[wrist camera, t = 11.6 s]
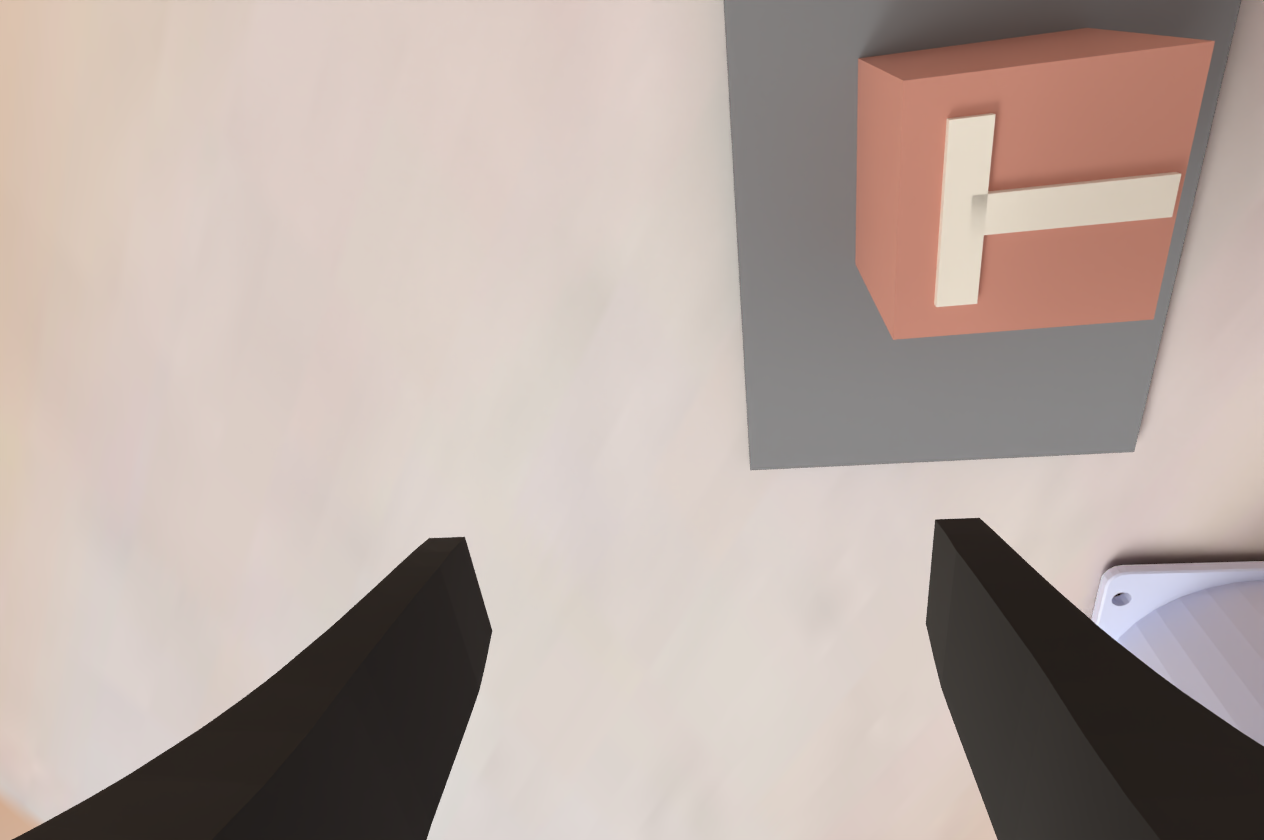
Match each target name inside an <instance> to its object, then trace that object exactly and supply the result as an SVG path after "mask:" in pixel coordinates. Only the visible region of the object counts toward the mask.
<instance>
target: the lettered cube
mask: <svg viewBox="0 0 1264 840" xmlns="http://www.w3.org/2000/svg"><path fill="white" fill-rule="evenodd" d="M1214 43H1215V41H1211V40H1201V39H1191V38H1182V37H1172V36H1162V35H1153V34H1143V33H1133V32H1124V31H1114V30H1104V29H1095V28H1082V29H1075V30H1067V31H1060V32H1052V33H1045V34H1038V35H1030V36H1023V37H1015V38H1008V39H1000V40H993V41H985V42H978V43H970V44H963V45H955V46H948V47H940V48H933V49H925V50H918V51H910V52H903V53H895V54H888V55H880V56H873V57H865V58H858V108H857V182H856V256H855V264H856V266H857V268H858V270H859V272H860V274H861V276H862V279H863V281H864V283H865V285H866V287H867V289H868V291H869V293H870V295H871V297H872V299H873V301H874V303H875V305H876V307H877V309H878V311H879V313H880V315H881V317H882V319H883V321H884V323H885V325H886V327H887V329H888V331H889V333H890V335H891V337H892V339H893V340H896V339H909V338H922V337H935V336H947V335H960V334H973V333H986V332H999V331H1012V330H1024V329H1037V328H1050V327H1063V326H1076V325H1088V324H1101V323H1114V322H1127V321H1140V320H1153V319H1154V315H1155V311H1156V306H1157V302H1158V297H1159V293H1160V288H1161V284H1162V279H1163V275H1164V270H1165V266H1166V261H1167V256H1168V252H1169V247H1170V243H1171V238H1172V234H1173V229H1174V225H1175V220H1176V216H1177V211H1178V207H1179V202H1180V198H1181V193H1182V188H1183V184H1184V179H1185V175H1186V170H1187V166H1188V161H1189V157H1190V152H1191V148H1192V143H1193V139H1194V134H1195V130H1196V125H1197V120H1198V116H1199V111H1200V107H1201V102H1202V98H1203V93H1204V89H1205V84H1206V80H1207V75H1208V71H1209V66H1210V61H1211V57H1212V52H1213V48H1214Z"/></svg>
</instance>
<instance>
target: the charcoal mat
mask: <svg viewBox="0 0 1264 840" xmlns="http://www.w3.org/2000/svg"><path fill="white" fill-rule="evenodd" d="M1240 4H1241V0H724V13H725V31H726V48H727V66H728V84H729V102H730V119H731V137H732V155H733V173H734V190H735V208H736V226H737V243H738V261H739V279H740V297H741V314H742V332H743V350H744V368H745V385H746V403H747V421H748V438H749V456H750V470H767V469H788V468H808V467H829V466H850V465H871V464H892V463H913V462H934V461H955V460H976V459H996V458H1017V457H1038V456H1059V455H1080V454H1101V453H1122V452H1134V450H1135V446H1136V442H1137V437H1138V433H1139V429H1140V425H1141V421H1142V416H1143V412H1144V408H1145V404H1146V400H1147V395H1148V391H1149V387H1150V383H1151V379H1152V374H1153V370H1154V366H1155V362H1156V357H1157V353H1158V349H1159V345H1160V341H1161V336H1162V332H1163V328H1164V324H1165V320H1166V315H1167V311H1168V307H1169V303H1170V298H1171V294H1172V290H1173V286H1174V282H1175V277H1176V273H1177V269H1178V265H1179V261H1180V256H1181V252H1182V248H1183V244H1184V240H1185V235H1186V231H1187V227H1188V223H1189V218H1190V214H1191V210H1192V206H1193V202H1194V197H1195V193H1196V189H1197V185H1198V181H1199V176H1200V172H1201V168H1202V164H1203V159H1204V155H1205V151H1206V147H1207V143H1208V138H1209V134H1210V130H1211V126H1212V122H1213V117H1214V113H1215V109H1216V105H1217V101H1218V96H1219V92H1220V88H1221V84H1222V79H1223V75H1224V71H1225V67H1226V63H1227V58H1228V54H1229V50H1230V46H1231V42H1232V37H1233V33H1234V29H1235V25H1236V20H1237V16H1238V12H1239V8H1240ZM1082 28H1095V29H1104V30H1114V31H1124V32H1133V33H1143V34H1153V35H1162V36H1172V37H1182V38H1191V39H1201V40H1211V41H1215V43H1214V48H1213V52H1212V57H1211V61H1210V66H1209V71H1208V75H1207V80H1206V84H1205V89H1204V93H1203V98H1202V102H1201V107H1200V111H1199V116H1198V120H1197V125H1196V130H1195V134H1194V139H1193V143H1192V148H1191V152H1190V157H1189V161H1188V166H1187V170H1186V175H1185V179H1184V184H1183V188H1182V193H1181V198H1180V202H1179V207H1178V211H1177V216H1176V220H1175V225H1174V229H1173V234H1172V238H1171V243H1170V247H1169V252H1168V256H1167V261H1166V266H1165V270H1164V275H1163V279H1162V284H1161V288H1160V293H1159V297H1158V302H1157V306H1156V311H1155V315H1154V319H1153V320H1140V321H1127V322H1114V323H1101V324H1088V325H1076V326H1063V327H1050V328H1037V329H1024V330H1012V331H999V332H986V333H973V334H960V335H947V336H935V337H922V338H909V339H896V340H893V339H892V337H891V335H890V333H889V331H888V329H887V327H886V325H885V323H884V321H883V319H882V317H881V315H880V313H879V311H878V309H877V307H876V305H875V303H874V301H873V299H872V297H871V295H870V293H869V291H868V289H867V287H866V285H865V283H864V281H863V279H862V276H861V274H860V272H859V270H858V268H857V266H856V264H855V256H856V182H857V108H858V58H865V57H873V56H880V55H888V54H895V53H903V52H910V51H918V50H925V49H933V48H940V47H948V46H955V45H963V44H970V43H978V42H985V41H993V40H1000V39H1008V38H1015V37H1023V36H1030V35H1038V34H1045V33H1052V32H1060V31H1067V30H1075V29H1082Z"/></svg>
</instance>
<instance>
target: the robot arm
mask: <svg viewBox="0 0 1264 840" xmlns="http://www.w3.org/2000/svg"><path fill="white" fill-rule="evenodd" d="M1118 593H1122V594H1121V595H1119V596H1115V595H1116V594H1118ZM1113 596H1115V597H1113ZM926 626H927V630H928V634H929V639H930V643H931V647H932V652H933V656H934V660H935V664H936V668H937V672H938V676H939V680H940V684H941V688H942V691H943V694H944V697H945V699H946V702H947V705H948V708H949V710H950V713H951V716H952V718H953V721H954V724H955V727H956V729H957V732H958V735H959V737H960V740H961V743H962V745H963V748H964V751H965V753H966V756H967V759H968V761H969V764H970V767H971V769H972V772H973V775H974V777H975V780H976V783H977V785H978V788H979V791H980V793H981V796H982V799H983V801H984V804H985V807H986V809H987V812H988V815H989V817H990V820H991V823H992V825H993V828H994V831H995V833H996V836H997V839H998V840H1264V561H1248V562H1212V563H1175V564H1139V565H1119V566H1114V567H1112V568H1110V569H1108V570H1107V571H1106V572H1105V573H1104V574H1103V575H1102V577H1101V580H1100V585H1099V589H1098V593H1097V597H1096V602H1095V606H1094V610H1093V614H1092V619H1090V618H1088V617H1087V616H1086V615H1085V614H1084V613H1083V612H1081V611H1080V610H1079V609H1078V608H1077V607H1076V606H1075V605H1073V604H1072V603H1071V602H1070V601H1069V600H1068V599H1067V598H1065V597H1064V596H1063V595H1062V594H1061V593H1060V592H1059V591H1057V590H1056V589H1055V588H1054V587H1053V586H1052V585H1051V584H1050V583H1049V582H1048V581H1046V580H1045V579H1044V578H1043V577H1042V576H1041V575H1040V574H1039V573H1038V572H1037V571H1036V570H1035V569H1034V568H1032V567H1031V566H1030V565H1029V564H1028V563H1027V562H1026V561H1025V560H1024V559H1023V558H1022V557H1021V556H1020V555H1019V554H1017V553H1016V552H1015V551H1014V550H1013V549H1012V548H1011V547H1010V546H1009V545H1008V544H1007V543H1006V542H1005V541H1004V540H1003V539H1002V538H1001V537H1000V536H998V535H997V534H996V533H995V532H994V531H993V530H992V529H991V528H990V527H989V526H988V525H987V524H986V523H984V522H983V521H982V520H981V519H980V518H966V519H939V520H935V529H934V540H933V551H932V562H931V573H930V584H929V595H928V606H927V617H926ZM491 634H492V629H491V625H490V622H489V618H488V615H487V611H486V608H485V605H484V601H483V598H482V594H481V591H480V588H479V584H478V581H477V577H476V574H475V570H474V567H473V564H472V560H471V557H470V553H469V550H468V547H467V543H466V540H465V537H452V538H429V539H428V540H426V541H425V542H424V543H423V544H422V545H420V546H419V547H418V548H417V549H416V550H415V551H414V552H412V553H411V554H410V555H409V556H408V557H407V558H406V559H405V560H404V561H403V562H402V563H400V564H399V565H398V566H397V567H396V568H395V569H394V570H393V571H392V572H391V573H390V574H389V575H388V576H386V577H385V578H384V579H383V580H382V581H381V582H380V583H379V584H378V585H377V586H376V587H375V588H374V589H372V590H371V591H370V592H369V593H368V594H367V595H366V596H365V597H364V598H363V599H361V600H360V601H359V602H358V603H357V604H356V605H355V606H354V607H353V608H352V609H350V610H349V611H348V612H347V613H346V614H345V615H344V616H343V617H342V618H341V619H340V620H338V621H337V622H336V623H335V624H334V625H333V626H332V627H331V628H329V629H328V630H327V631H326V632H325V633H323V634H322V635H321V636H320V637H319V638H317V639H316V640H315V641H314V642H313V643H312V644H310V645H309V646H308V647H307V648H306V649H304V650H303V651H302V652H301V653H300V654H298V655H297V656H296V657H295V658H294V659H293V660H291V661H290V662H289V663H288V664H287V665H285V666H284V667H283V668H282V669H281V670H279V671H278V672H277V673H276V674H274V675H273V676H272V677H271V678H269V679H268V680H267V681H266V682H264V683H263V684H262V685H260V686H259V687H258V688H256V689H255V690H254V691H252V692H251V693H250V694H249V695H247V696H246V697H245V698H243V699H242V700H240V701H239V702H238V703H236V704H235V705H233V706H232V707H231V708H229V709H228V710H226V711H225V712H224V713H222V714H221V715H220V716H218V717H217V718H215V719H214V720H213V721H211V722H210V723H208V724H207V725H205V726H204V727H202V728H201V729H200V730H198V731H197V732H195V733H193V734H192V735H190V736H189V737H187V738H186V739H184V740H183V741H181V742H179V743H178V744H176V745H175V746H173V747H172V748H170V749H168V750H167V751H165V752H164V753H162V754H161V755H159V756H158V757H156V758H154V759H153V760H151V761H150V762H148V763H147V764H145V765H143V766H142V767H140V768H139V769H137V770H136V771H134V772H133V773H131V774H129V775H128V776H126V777H124V778H123V779H121V780H119V781H118V782H116V783H114V784H112V785H111V786H109V787H107V788H106V789H104V790H102V791H100V792H99V793H97V794H95V795H93V796H92V797H90V798H88V799H87V800H85V801H83V802H81V803H79V804H78V805H76V806H74V807H72V808H70V809H68V810H67V811H65V812H63V813H61V814H59V815H58V816H56V817H54V818H52V819H50V820H48V821H47V822H45V823H43V824H41V825H39V826H37V827H35V828H34V829H32V830H30V831H28V832H26V833H24V834H22V835H20V836H18V837H16V838H15V839H12V840H426V839H427V836H428V833H429V830H430V827H431V824H432V821H433V818H434V816H435V813H436V810H437V807H438V804H439V802H440V799H441V796H442V793H443V791H444V788H445V785H446V782H447V780H448V777H449V774H450V771H451V769H452V766H453V763H454V760H455V758H456V755H457V752H458V749H459V747H460V744H461V741H462V738H463V735H464V733H465V730H466V727H467V724H468V721H469V718H470V716H471V713H472V710H473V707H474V704H475V701H476V698H477V695H478V692H479V689H480V685H481V681H482V677H483V672H484V668H485V664H486V659H487V654H488V649H489V644H490V639H491Z"/></svg>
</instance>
